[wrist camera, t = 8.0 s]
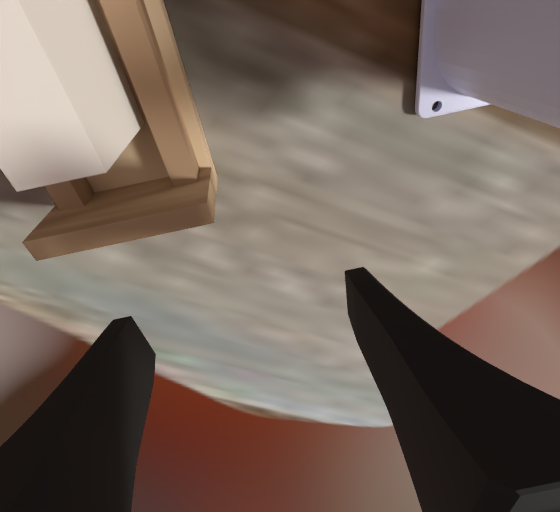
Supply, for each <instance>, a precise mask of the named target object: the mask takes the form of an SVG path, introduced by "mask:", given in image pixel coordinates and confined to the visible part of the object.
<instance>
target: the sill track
mask: <svg viewBox="0 0 560 512" xmlns="http://www.w3.org/2000/svg"><path fill="white" fill-rule="evenodd" d="M95 2H96V4H97V7H98V9H99V12H100V14H101V17H102V19H103V22H104V24H105V27H106V29H107V32H108V34H109V37H110V39H111V42H112V44H113V46H114V49H115V51H116V54H117V56H118V59H119V61H120V64H121V66H122V69H123V71H124V74H125V76H126V79H127V81H128V84H129V86H130V89H131V91H132V94H133V96H134V98H135V101H136V103H137V106H138V108H139V111H140V113H141V116H142V118H143V121H144V123H145V124H144V125H143V126H142V127H141V129H140V130H139V131H138V133H137V134H136V135H135V136H134V138H133V139H132V140H131V142H130V143H129V144H128V145H127V147H126V148H125V149H124V151H123V152H122V153H121V154H120V156H119V157H118V158H117V160H116V161H115V162H114V163H113V165H112V166H111V167H110V169H109V170H108V171H107V172H106V173H102V174H97V175H92V176H88V177H83V178H79V179H74V180H69V181H65V182H60V183H56V184H51V185H46V186H44V187H45V189H46V190H47V192H48V193H49V195H50V196H51V198H52V199H53V201H54V203H55V204H56V206H55V207H54V208H53V209H52V210H51V211H50V212H49V213H48V214H47V216H46V217H45V218H44V219H43V220H42V221H41V222H40V223H39V224H38V225H37V227H36V228H35V229H34V230H33V231H32V232H31V233H30V234H29V235H28V236H27V238H26V239H25V240H24V241H23V242H22V243H23V244H24V245H25V247H26V248H27V249H28V251H29V252H30V253H31V254H32V256H33V257H34V258H35V260H36V261H38V260H42V259H47V258H52V257H56V256H61V255H66V254H70V253H75V252H80V251H84V250H89V249H94V248H99V247H103V246H108V245H113V244H117V243H122V242H127V241H131V240H136V239H141V238H145V237H150V236H155V235H159V234H164V233H169V232H174V231H178V230H183V229H188V228H192V227H197V226H202V225H206V224H211V223H214V215H215V202H216V190H217V174H216V171H215V168H214V165H213V161H212V158H211V155H210V151H209V148H208V145H207V142H206V138H205V135H204V132H203V129H202V125H201V122H200V119H199V115H198V112H197V109H196V106H195V102H194V99H193V96H192V92H191V89H190V86H189V83H188V79H187V76H186V73H185V70H184V66H183V63H182V60H181V56H180V53H179V50H178V47H177V43H176V40H175V37H174V34H173V30H172V27H171V24H170V20H169V17H168V14H167V11H166V7H165V4H164V1H163V0H95Z"/></svg>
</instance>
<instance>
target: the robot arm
mask: <svg viewBox="0 0 560 512" xmlns="http://www.w3.org/2000/svg"><path fill="white" fill-rule="evenodd" d="M436 101H438V106H437V108H436V109H434V110H432V106H433V104H434V103H435V102H436ZM490 104H492V105H495V106H498V107H500V108H503V109H506V110H509V111H512V112H514V113H517V114H520V115H523V116H526V117H529V118H531V119H534V120H537V121H540V122H543V123H545V124H548V125H551V126H554V127H557V128H560V0H422V5H421V21H420V37H419V52H418V68H417V84H416V100H415V113H416V114H417V116H419V117H421V118H430V117H434V116H439V115H444V114H448V113H453V112H458V111H462V110H467V109H472V108H476V107H481V106H486V105H490ZM345 281H346V294H347V307H348V315H349V318H350V322H351V325H352V328H353V331H354V334H355V337H356V340H357V342H358V345H359V347H360V349H361V351H362V354H363V356H364V358H365V360H366V362H367V365H368V367H369V369H370V371H371V373H372V376H373V378H374V380H375V382H376V384H377V387H378V389H379V391H380V393H381V395H382V397H383V400H384V402H385V404H386V407H387V409H388V412H389V414H390V417H391V420H392V423H393V425H394V428H395V431H396V434H397V437H398V440H399V442H400V446H401V448H402V451H403V454H404V457H405V460H406V463H407V466H408V469H409V472H410V475H411V478H412V481H413V484H414V487H415V490H416V493H417V497H418V500H419V503H420V506H421V509H422V512H560V400H559V399H557V398H555V397H553V396H551V395H549V394H547V393H545V392H543V391H541V390H539V389H537V388H534V387H532V386H530V385H528V384H526V383H524V382H522V381H520V380H519V379H517V378H515V377H513V376H511V375H509V374H508V373H506V372H504V371H502V370H500V369H498V368H497V367H495V366H493V365H491V364H489V363H487V362H486V361H484V360H482V359H481V358H479V357H477V356H476V355H474V354H472V353H471V352H469V351H467V350H466V349H464V348H463V347H461V346H460V345H458V344H457V343H455V342H454V341H452V340H450V339H449V338H448V337H446V336H445V335H443V334H442V333H440V332H439V331H438V330H436V329H435V328H434V327H432V326H431V325H430V324H428V323H427V322H426V321H424V320H423V319H422V318H420V317H419V316H418V315H417V314H415V313H414V312H413V311H412V310H410V309H409V308H408V307H407V306H406V305H404V304H403V303H402V302H401V301H400V300H398V299H397V298H396V297H395V296H394V295H393V294H392V293H391V292H389V291H388V290H387V289H386V288H385V287H384V286H383V285H382V284H381V283H380V282H379V281H378V280H377V279H376V278H375V277H374V276H373V275H372V274H371V273H370V272H369V271H368V270H367V269H365V268H364V267H361V268H356V269H351V270H347V271H345ZM155 356H156V354H155V352H154V351H153V349H152V348H151V346H150V345H149V343H148V342H147V340H146V338H145V337H144V335H143V334H142V332H141V331H140V329H139V327H138V326H137V324H136V323H135V321H134V320H133V318H132V316H129V317H124V318H119V319H115V320H113V321H112V322H111V323H110V324H109V325H108V326H107V328H106V329H105V330H104V331H103V332H102V334H101V335H100V336H99V337H98V339H97V340H96V341H95V342H94V343H93V345H92V346H91V347H90V349H89V350H88V351H87V352H86V353H85V355H84V356H83V357H82V358H81V359H80V361H79V362H78V363H77V364H76V365H75V367H74V368H73V369H72V370H71V372H70V373H69V374H68V375H67V377H66V378H65V379H64V380H63V381H62V382H61V384H59V386H58V387H57V388H56V389H55V390H54V391H53V392H52V393H51V395H50V396H49V397H48V398H47V399H46V401H44V403H43V404H42V405H41V406H40V407H39V408H38V409H37V410H36V411H35V412H34V414H33V415H32V416H31V417H30V418H29V419H28V420H27V421H26V422H25V423H24V424H23V425H22V426H21V427H20V428H19V429H18V430H17V431H16V432H15V433H14V434H13V435H12V436H11V437H10V438H9V439H8V440H7V441H6V442H5V443H4V444H3V445H2V446H1V447H0V512H131V507H132V497H133V488H134V480H135V471H136V464H137V459H138V453H139V448H140V444H141V439H142V434H143V429H144V425H145V421H146V416H147V412H148V407H149V402H150V398H151V393H152V388H153V382H154V371H155Z"/></svg>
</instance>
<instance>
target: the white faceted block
mask: <svg viewBox="0 0 560 512" xmlns="http://www.w3.org/2000/svg"><path fill="white" fill-rule="evenodd" d="M144 124H145V123H144V121H143V118H142V116H141V113H140V111H139V108H138V106H137V103H136V101H135V98H134V96H133V94H132V91H131V89H130V86H129V84H128V81H127V79H126V76H125V74H124V71H123V69H122V66H121V64H120V61H119V59H118V56H117V54H116V51H115V49H114V46H113V44H112V42H111V39H110V37H109V34H108V32H107V29H106V27H105V24H104V22H103V19H102V17H101V14H100V12H99V9H98V7H97V4H96V2H95V0H0V169H1V170H2V171H3V173H4V174H5V176H6V177H7V179H8V180H9V181H10V183H11V184H12V186H13V187H14V188H15V190H16V191H17V192H19V191H23V190H28V189H32V188H37V187H42V186H46V185H51V184H56V183H60V182H65V181H69V180H74V179H79V178H83V177H88V176H92V175H97V174H102V173H106V172H107V171H108V170H109V169H110V167H111V166H112V165H113V163H114V162H115V161H116V160H117V158H118V157H119V156H120V154H121V153H122V152H123V151H124V149H125V148H126V147H127V145H128V144H129V143H130V142H131V140H132V139H133V138H134V136H135V135H136V134H137V133H138V131H139V130H140V129H141V127H142V126H143V125H144Z"/></svg>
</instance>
